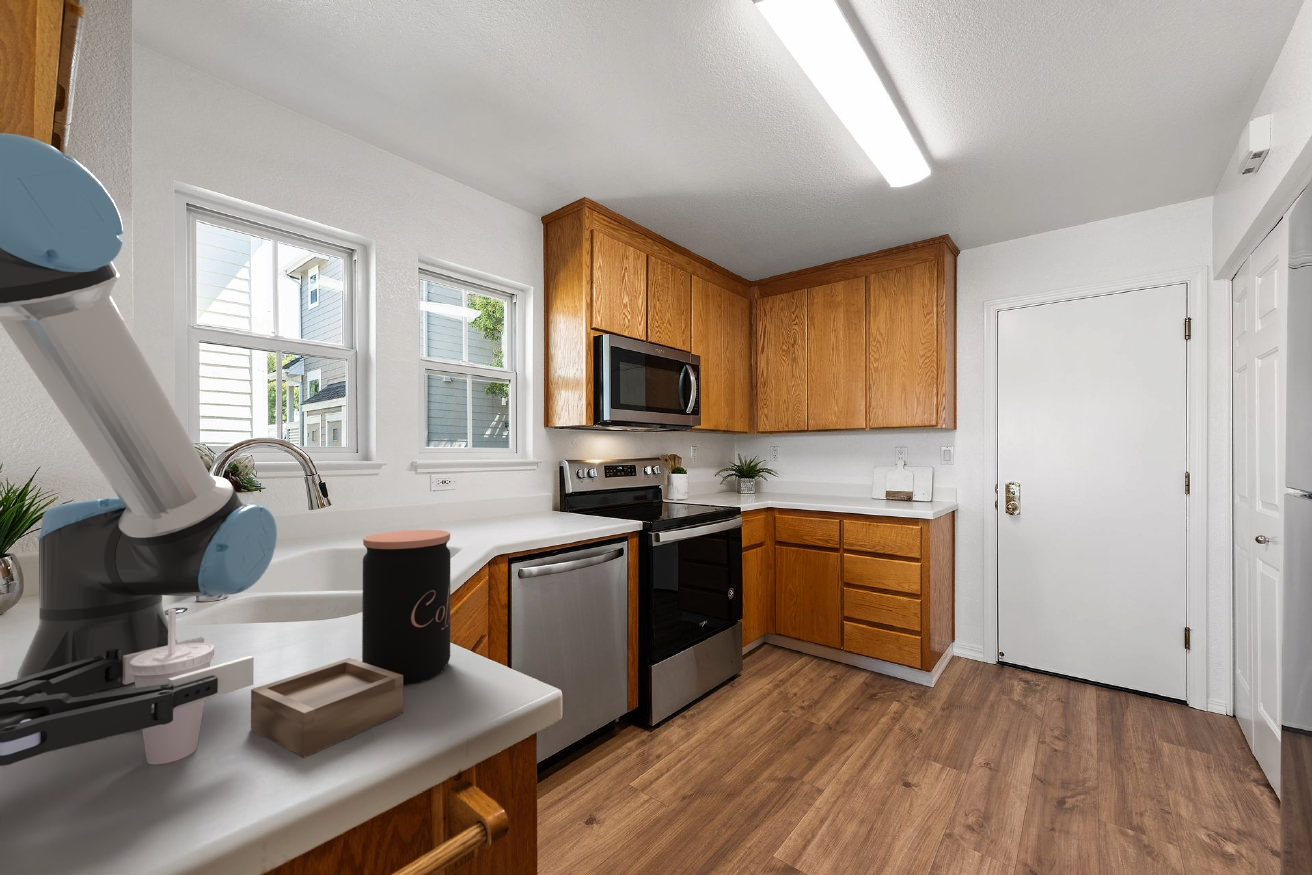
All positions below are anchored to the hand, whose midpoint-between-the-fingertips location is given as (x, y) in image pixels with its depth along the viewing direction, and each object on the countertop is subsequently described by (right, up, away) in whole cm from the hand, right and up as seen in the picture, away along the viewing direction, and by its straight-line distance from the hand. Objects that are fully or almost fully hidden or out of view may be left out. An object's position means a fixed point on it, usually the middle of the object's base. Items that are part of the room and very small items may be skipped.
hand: (226, 659), depth 59 cm
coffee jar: (+12, -8, +16) cm, 21 cm away
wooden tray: (+10, -8, +2) cm, 12 cm away
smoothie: (-2, -8, -4) cm, 9 cm away
